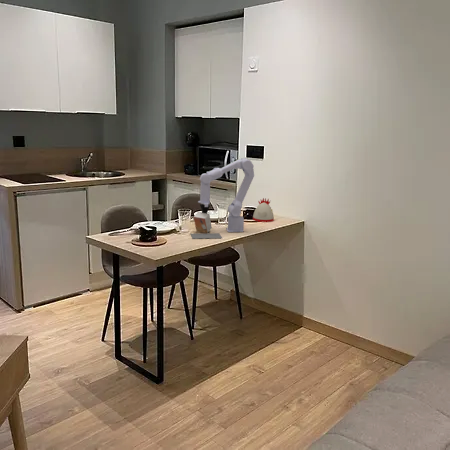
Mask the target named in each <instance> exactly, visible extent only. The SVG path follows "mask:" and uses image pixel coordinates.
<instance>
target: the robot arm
mask: <svg viewBox="0 0 450 450" xmlns="http://www.w3.org/2000/svg"><path fill="white" fill-rule="evenodd" d="M234 169H238V170H239V169H240V170H242V171H243V174H244V176H243V179H242V182H241V183H240V186H239V188H238V191H237V192H236V195H235V197H234V199H233V200H232V201H231V203H230V204H229V205H228V207H227V212H228V213H229V214H227V227H226V228H225V229H226V230H227V232H228V233H244V226H245V219H244V216H241V212H242V208H243V202H244V199H245V197H246V196H247V193H248V190H249V189H250V186H251V184H252V182H253V179H254V177H255V172H254V171H255V170H254V169H255V168H254V163H253V161H251V159H247V158H246V157H243V158H240V159H237V160H235V161H232V162H231V163H229V164H226V165H225V166H223V167H214V168H213V169H212V170H209V171H206V173H202V174H201V175H200V177H199V181H200V189H199V191H200V192H199V194H200V195H199V200H198V201H197V203H198V204H199V207H200V210H201V213H207V214H208V213H209V212H208V211H209V209H210V207H211V206H210V204H211V182H213V181H215V180H217V179H219V178H221V177H222V176H223V175H224V174H226V173H228V172H230V171H233V170H234Z"/></svg>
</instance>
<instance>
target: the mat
mask: <svg viewBox="0 0 450 450" xmlns="http://www.w3.org/2000/svg"><path fill="white" fill-rule="evenodd" d="M190 236H191V239H192V240H208V239H209V240H212V239H213V240H215V239H216V240H217V239H218V240H222V239H223V237H222V236H221V234H220V233H219V232H216V233H215V232H208V233H204V232H200V233H196V232H195V233H190ZM221 238H222V239H221Z"/></svg>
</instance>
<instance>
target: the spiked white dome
mask: <svg viewBox="0 0 450 450" xmlns="http://www.w3.org/2000/svg"><path fill="white" fill-rule="evenodd" d="M269 199H270V198H264V197H263V198H262V199H260V200H258V205H257V206H256V208H255V210H254V212H253V215H252V220H253V221H255V222H258V223H271V222H274V221H275V220H274V216H275V215H274V211H273V209H272V207H271V206H270V203H271V201H269Z"/></svg>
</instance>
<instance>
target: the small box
mask: <svg viewBox="0 0 450 450" xmlns="http://www.w3.org/2000/svg"><path fill="white" fill-rule="evenodd" d="M193 221H194V225H195V231H196V232H200V233H210V231H211V230H212V228H213V227H212V222H211V216H210V213H208V212H207V213H202V212H199V211H198V212H196V213H195V214H194V216H193Z"/></svg>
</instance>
